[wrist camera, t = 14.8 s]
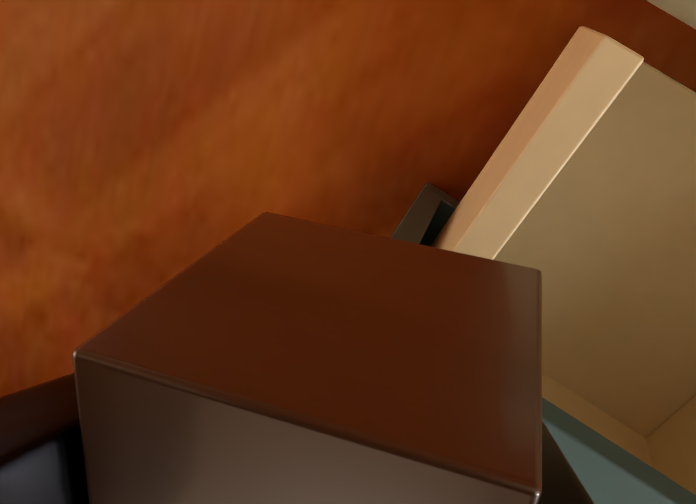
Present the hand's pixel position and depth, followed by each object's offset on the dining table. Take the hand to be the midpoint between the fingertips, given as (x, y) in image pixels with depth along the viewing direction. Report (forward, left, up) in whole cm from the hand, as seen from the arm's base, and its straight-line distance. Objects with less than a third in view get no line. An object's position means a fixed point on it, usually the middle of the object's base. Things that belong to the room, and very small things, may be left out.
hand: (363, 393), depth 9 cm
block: (0, 0, -1) cm, 1 cm away
